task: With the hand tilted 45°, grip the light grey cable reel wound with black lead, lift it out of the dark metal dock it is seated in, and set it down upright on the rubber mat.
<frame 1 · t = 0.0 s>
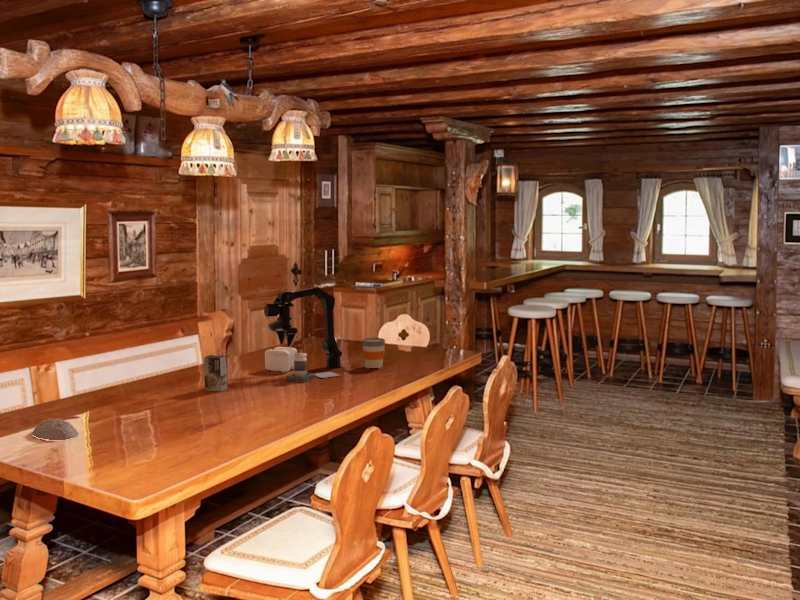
hand: (285, 345, 405), 15 cm above the table, tool pointing down, fingers open, 9 cm apart
reusable coffee cup: (373, 367, 422), on the table
reel dock: (300, 379, 390), on the table
cable reel: (300, 366, 390), in the reel dock
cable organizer: (281, 370, 414), on the table
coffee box: (216, 390, 369), on the table
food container: (55, 435, 295), on the table
rubber mat: (326, 375, 400), on the table
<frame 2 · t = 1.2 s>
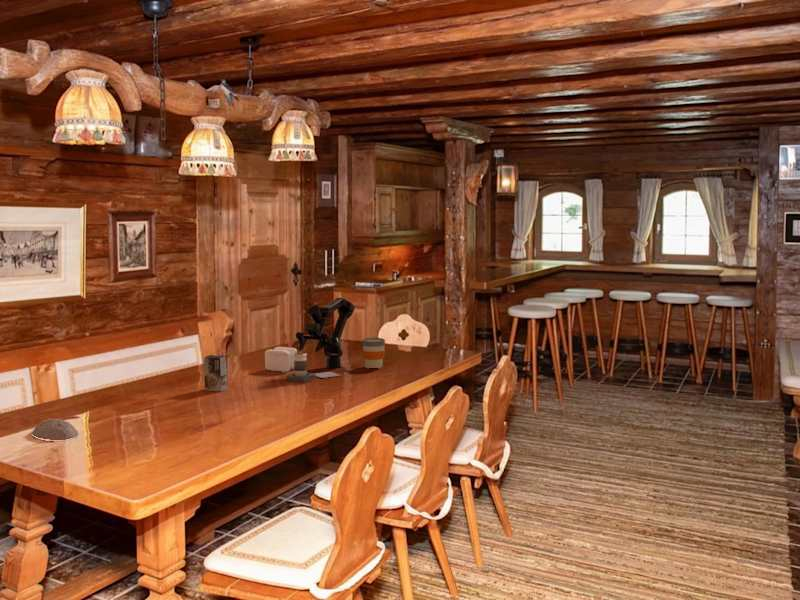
hand: (307, 351, 396), 13 cm above the table, tool tilted 45°, fingers open, 9 cm apart
nothing on the table moved.
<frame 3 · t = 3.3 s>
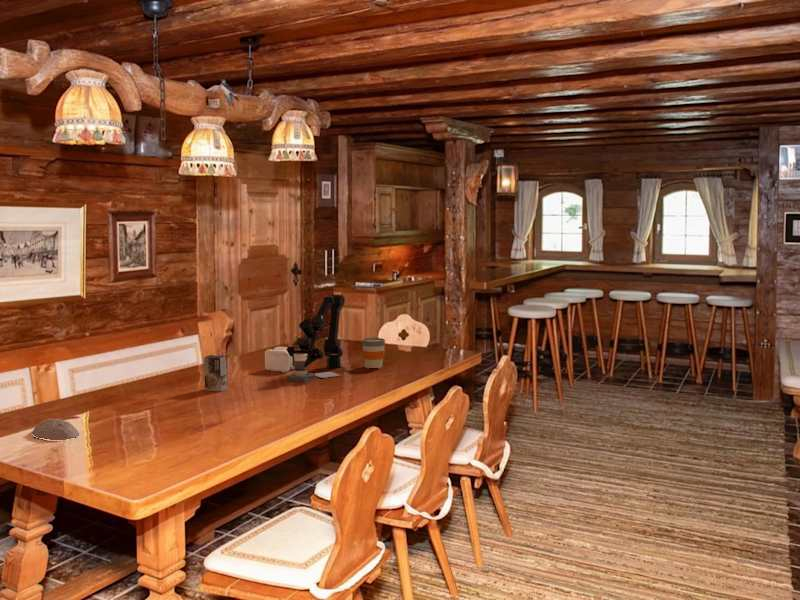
hand: (299, 366, 388), 7 cm above the table, tool tilted 45°, fingers closed on cable reel, 6 cm apart
cable reel: (300, 366, 390), in the reel dock, touching gripper
everything else where it was.
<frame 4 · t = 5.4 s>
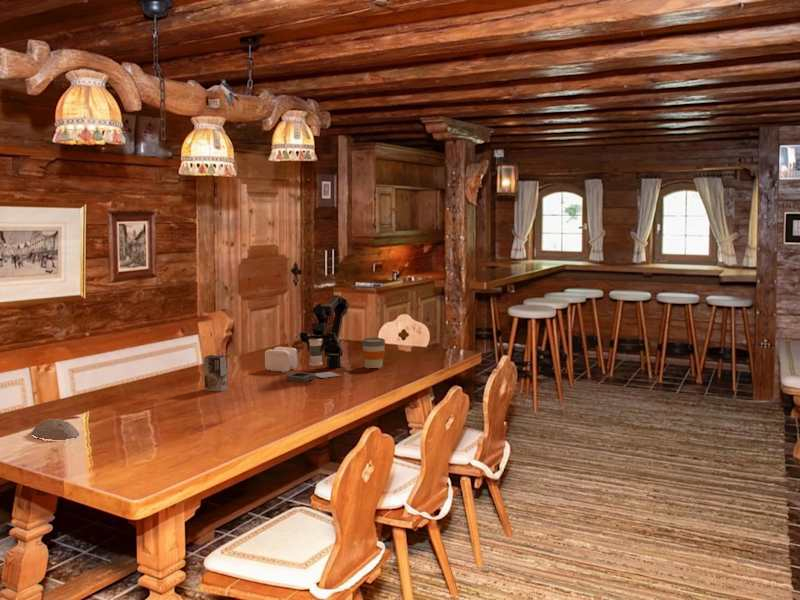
hand: (314, 351, 392), 14 cm above the table, tool tilted 45°, fingers closed on cable reel, 6 cm apart
cable reel: (315, 351, 394), point 13 cm above the table, touching gripper
everything else where it was.
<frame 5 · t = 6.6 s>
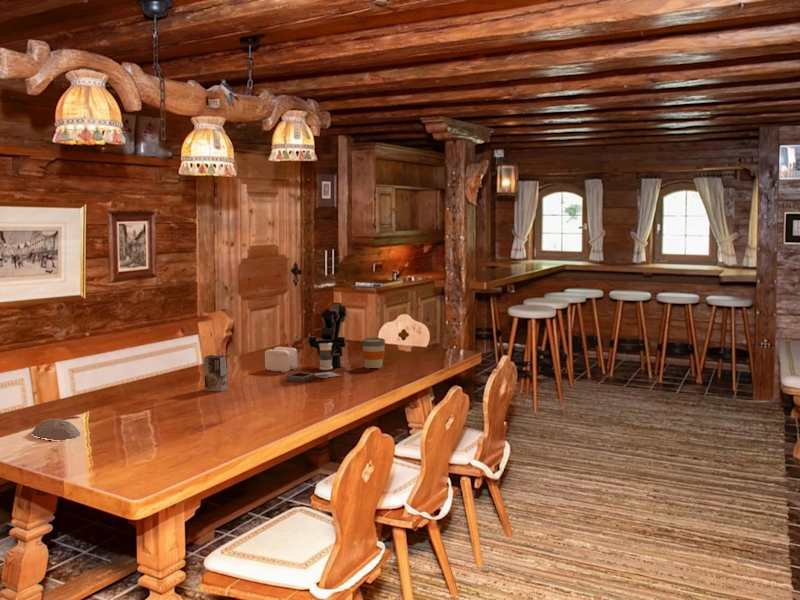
hand: (325, 355, 397), 11 cm above the table, tool tilted 45°, fingers closed on cable reel, 6 cm apart
cable reel: (325, 356, 399), point 10 cm above the table, touching gripper
everything else where it was.
when the fingers open (9 cm above the table, at t = 7.5 s): cable reel drops 1 cm, resting on rubber mat.
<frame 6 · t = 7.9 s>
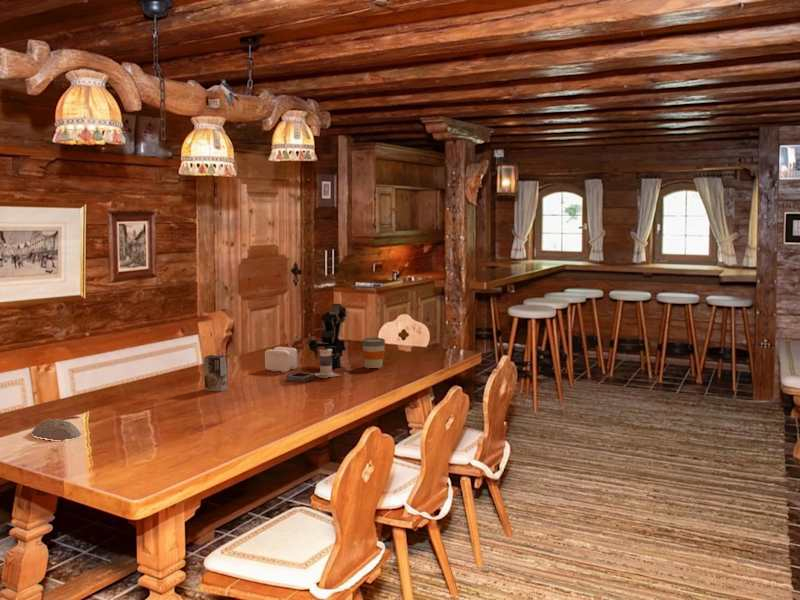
hand: (325, 358, 397), 9 cm above the table, tool tilted 45°, fingers open, 9 cm apart
cable reel: (325, 362, 399), on the rubber mat, point 7 cm above the table
everything else where it was.
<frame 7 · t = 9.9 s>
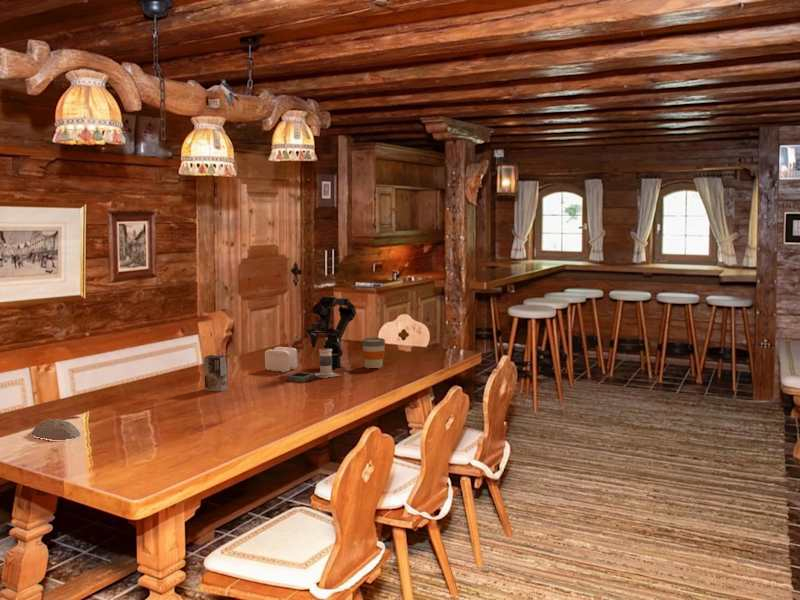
hand: (320, 348, 407), 13 cm above the table, tool tilted 20°, fingers open, 9 cm apart
nothing on the table moved.
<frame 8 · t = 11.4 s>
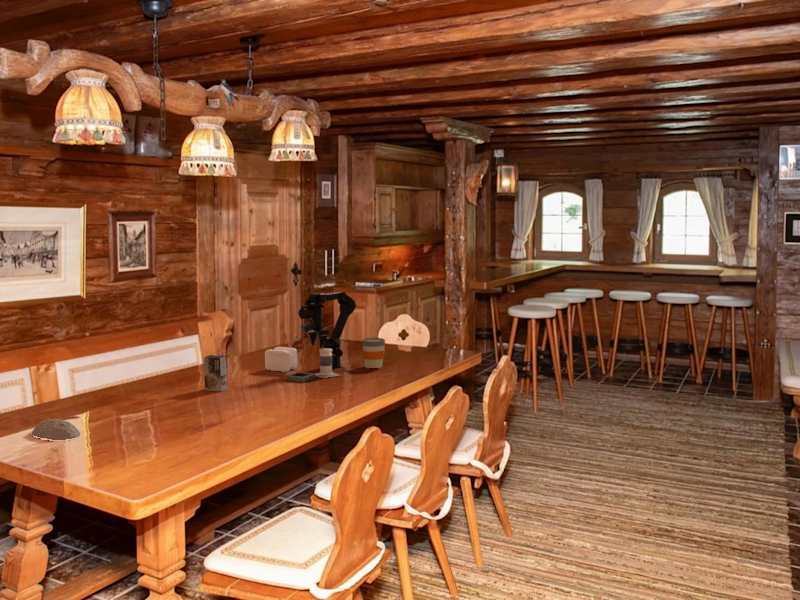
hand: (316, 346, 411), 13 cm above the table, tool pointing down, fingers open, 9 cm apart
nothing on the table moved.
at the end: cable reel inside the target area on the rubber mat (0.1 cm from its centre), point 7.1 cm above the rubber mat's base; cable reel tilted 1°; the gripper is holding nothing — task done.
